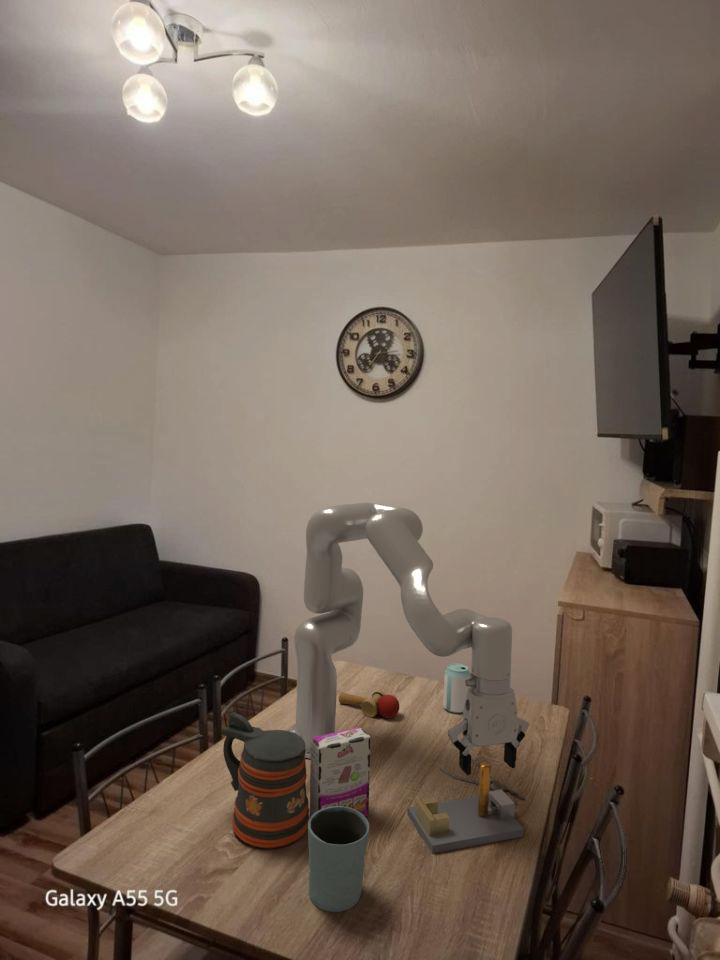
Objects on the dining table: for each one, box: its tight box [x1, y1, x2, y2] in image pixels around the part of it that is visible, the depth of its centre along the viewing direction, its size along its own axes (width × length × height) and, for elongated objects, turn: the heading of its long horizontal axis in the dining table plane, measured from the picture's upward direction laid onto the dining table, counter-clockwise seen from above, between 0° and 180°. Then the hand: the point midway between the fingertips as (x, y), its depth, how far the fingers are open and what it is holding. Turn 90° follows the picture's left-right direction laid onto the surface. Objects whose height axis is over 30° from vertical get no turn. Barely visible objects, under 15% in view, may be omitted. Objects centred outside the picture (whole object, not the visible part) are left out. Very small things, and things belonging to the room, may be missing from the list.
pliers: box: [439, 758, 526, 806], centre depth 140 cm, size 10×1×20 cm
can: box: [442, 663, 471, 714], centre depth 175 cm, size 7×7×12 cm
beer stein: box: [221, 711, 310, 849], centre depth 121 cm, size 19×15×20 cm
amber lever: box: [478, 761, 498, 817], centre depth 124 cm, size 7×2×10 cm, turn 108°
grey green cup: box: [307, 806, 370, 913], centre depth 103 cm, size 10×10×12 cm
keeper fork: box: [415, 796, 450, 836], centre depth 121 cm, size 4×7×3 cm, turn 18°
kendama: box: [338, 690, 400, 719], centre depth 172 cm, size 8×6×18 cm
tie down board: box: [407, 795, 525, 854], centre depth 123 cm, size 19×12×2 cm, turn 108°
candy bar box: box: [309, 726, 371, 819], centre depth 124 cm, size 11×5×16 cm, turn 117°
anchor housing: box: [488, 790, 515, 821], centre depth 125 cm, size 3×5×3 cm, turn 18°
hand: (487, 768), depth 123 cm, fingers open, 9 cm apart
